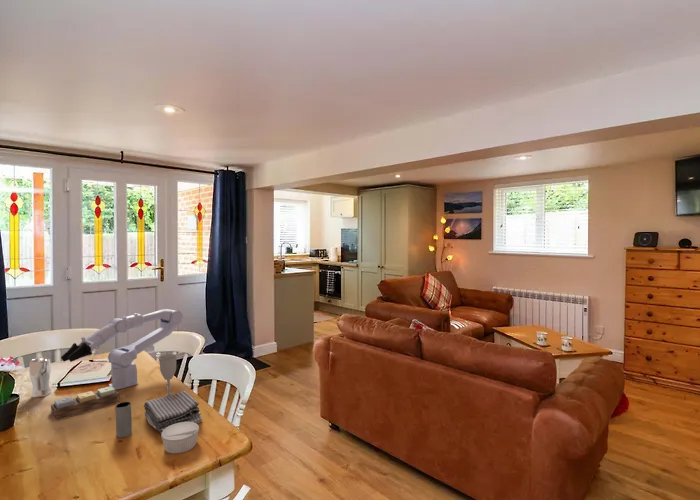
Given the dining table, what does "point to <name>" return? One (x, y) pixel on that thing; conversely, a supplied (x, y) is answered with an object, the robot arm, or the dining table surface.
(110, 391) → the one pip tile
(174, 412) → the towel
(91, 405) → the brown tile tray
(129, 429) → the grey cylinder
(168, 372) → the chalice
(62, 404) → the three pip tile
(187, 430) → the ramekin
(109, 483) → the dining table surface
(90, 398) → the two pip tile
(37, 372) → the beer glass
